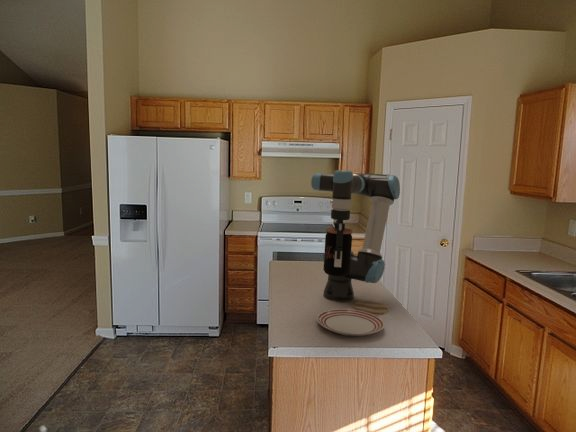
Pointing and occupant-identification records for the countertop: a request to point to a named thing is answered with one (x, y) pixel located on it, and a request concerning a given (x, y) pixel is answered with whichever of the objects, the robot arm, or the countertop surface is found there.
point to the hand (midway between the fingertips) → (337, 263)
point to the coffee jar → (330, 253)
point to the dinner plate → (350, 322)
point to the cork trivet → (370, 307)
